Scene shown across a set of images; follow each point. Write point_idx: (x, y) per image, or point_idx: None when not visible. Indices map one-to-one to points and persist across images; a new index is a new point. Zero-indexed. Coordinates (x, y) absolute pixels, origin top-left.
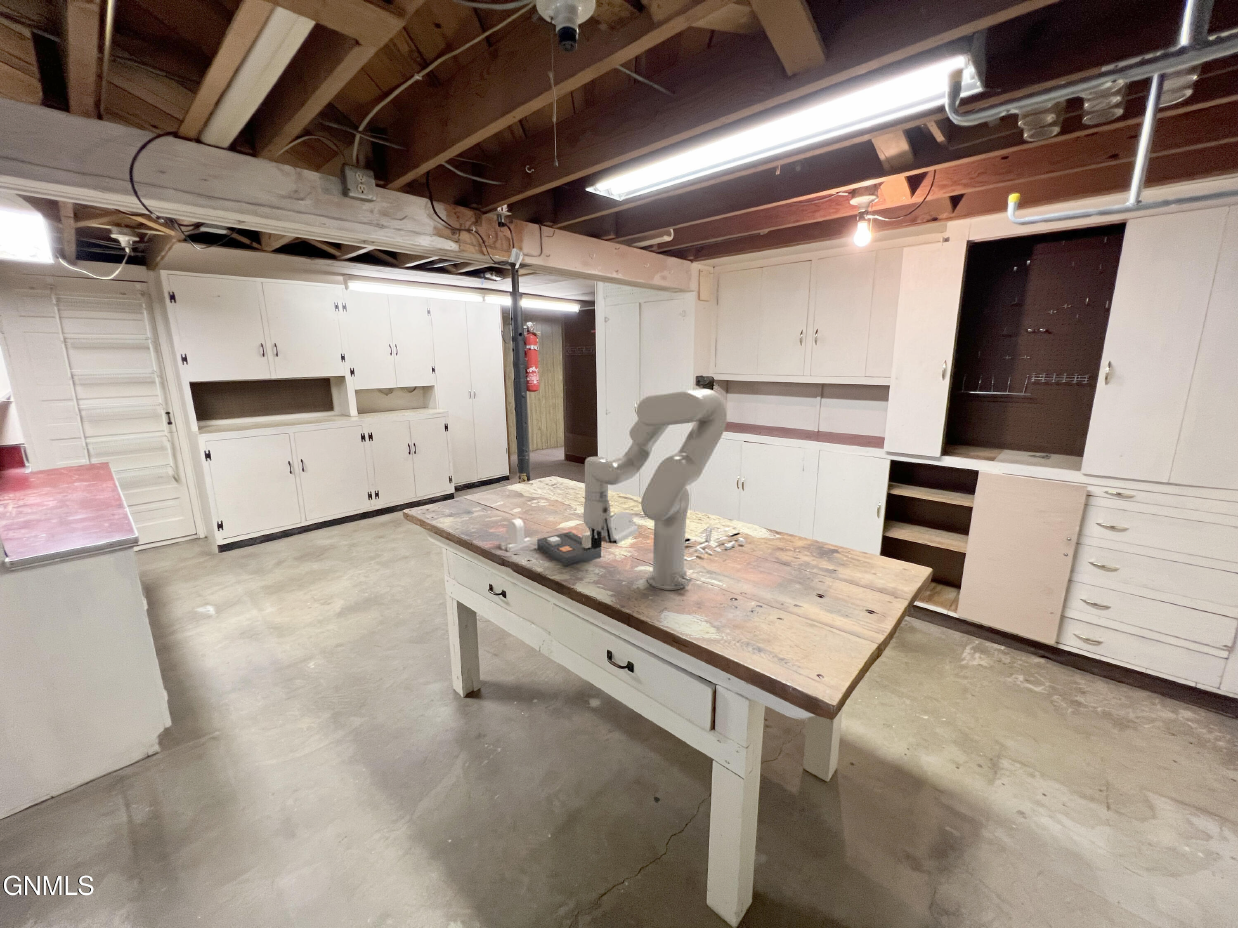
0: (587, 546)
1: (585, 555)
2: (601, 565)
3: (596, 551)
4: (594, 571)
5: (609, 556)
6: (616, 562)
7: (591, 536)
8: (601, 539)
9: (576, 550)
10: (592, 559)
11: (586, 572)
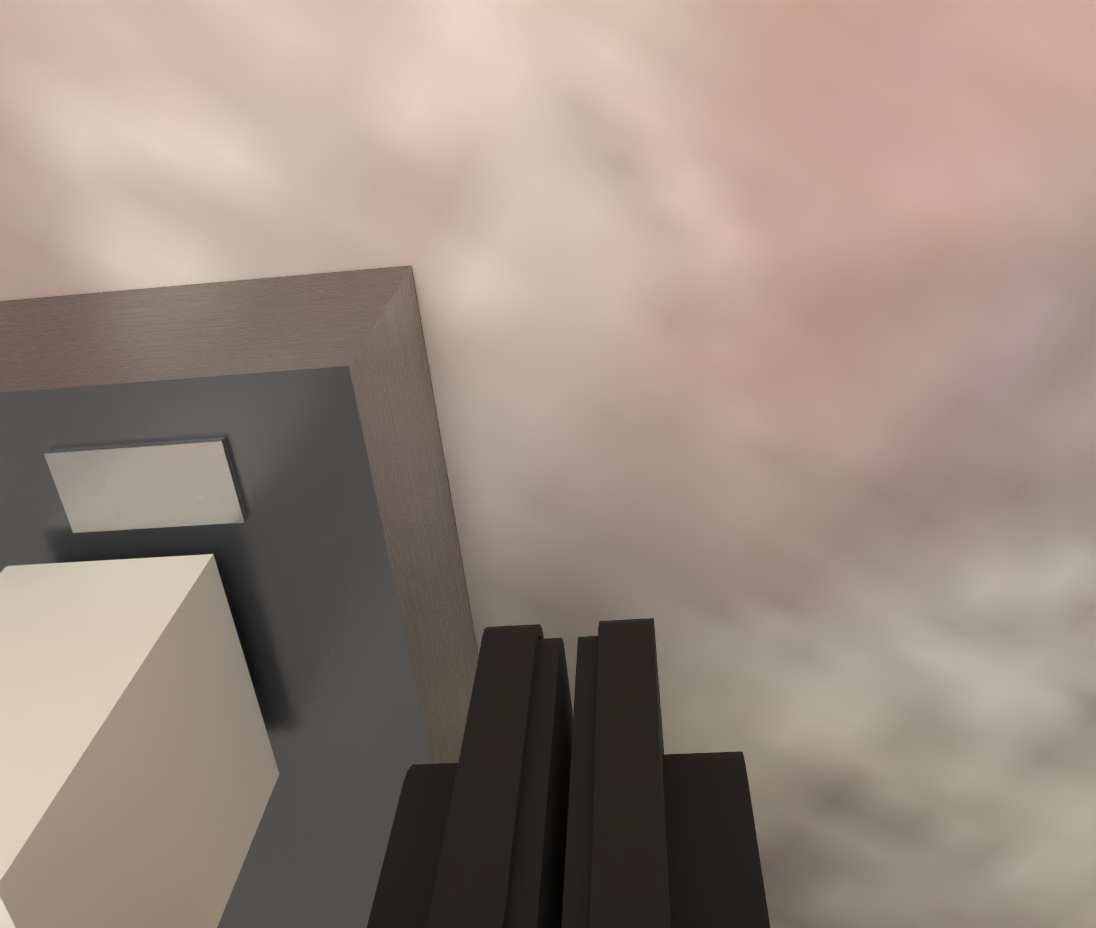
0: (254, 767)
1: (456, 758)
2: (828, 489)
3: (397, 492)
4: (976, 722)
5: (460, 33)
6: (925, 81)
7: (79, 903)
8: (662, 832)
9: (251, 913)
10: (451, 510)
11: (909, 835)
